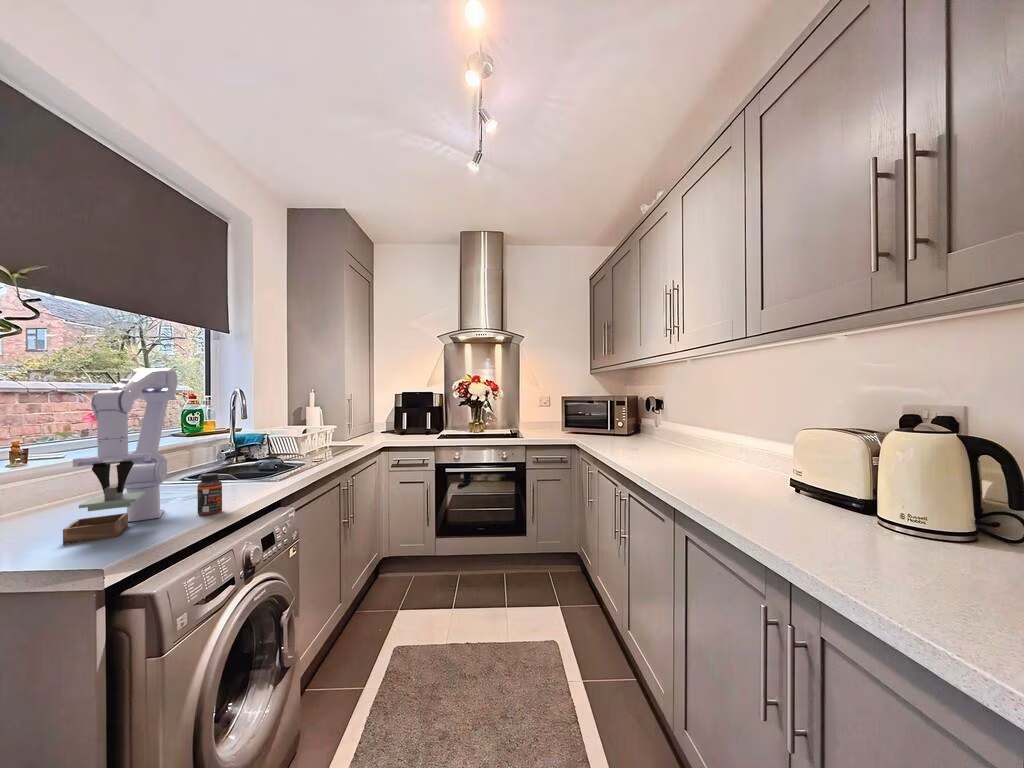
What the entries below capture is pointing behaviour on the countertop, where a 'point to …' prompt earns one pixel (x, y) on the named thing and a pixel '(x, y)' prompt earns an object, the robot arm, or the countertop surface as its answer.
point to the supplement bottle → (209, 495)
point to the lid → (111, 499)
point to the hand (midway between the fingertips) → (113, 492)
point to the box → (95, 528)
